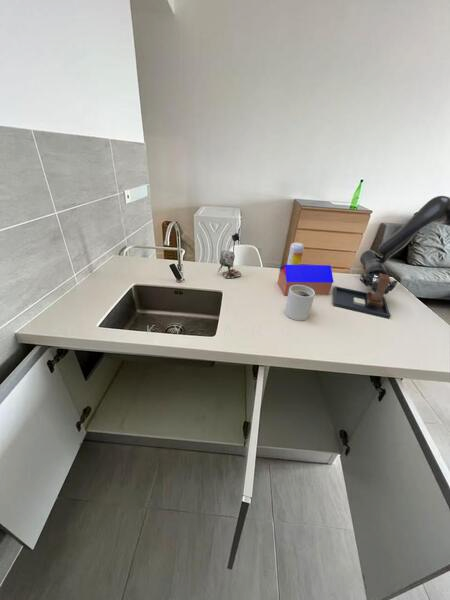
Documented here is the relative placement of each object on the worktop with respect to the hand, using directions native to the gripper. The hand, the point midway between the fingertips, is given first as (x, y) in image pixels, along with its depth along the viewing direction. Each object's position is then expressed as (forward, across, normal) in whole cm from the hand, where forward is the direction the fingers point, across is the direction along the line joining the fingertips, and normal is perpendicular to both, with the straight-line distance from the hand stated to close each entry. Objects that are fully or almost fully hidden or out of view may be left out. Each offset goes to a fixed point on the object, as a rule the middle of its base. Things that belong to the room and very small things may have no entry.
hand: (380, 290), depth 91 cm
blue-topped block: (-5, -28, +9) cm, 30 cm away
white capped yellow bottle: (-20, -35, +9) cm, 41 cm away
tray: (-3, -5, +9) cm, 11 cm away
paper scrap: (-3, -5, +8) cm, 10 cm away
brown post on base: (-3, 0, +7) cm, 7 cm away
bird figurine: (-3, -62, +9) cm, 63 cm away
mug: (+15, -27, +9) cm, 32 cm away
